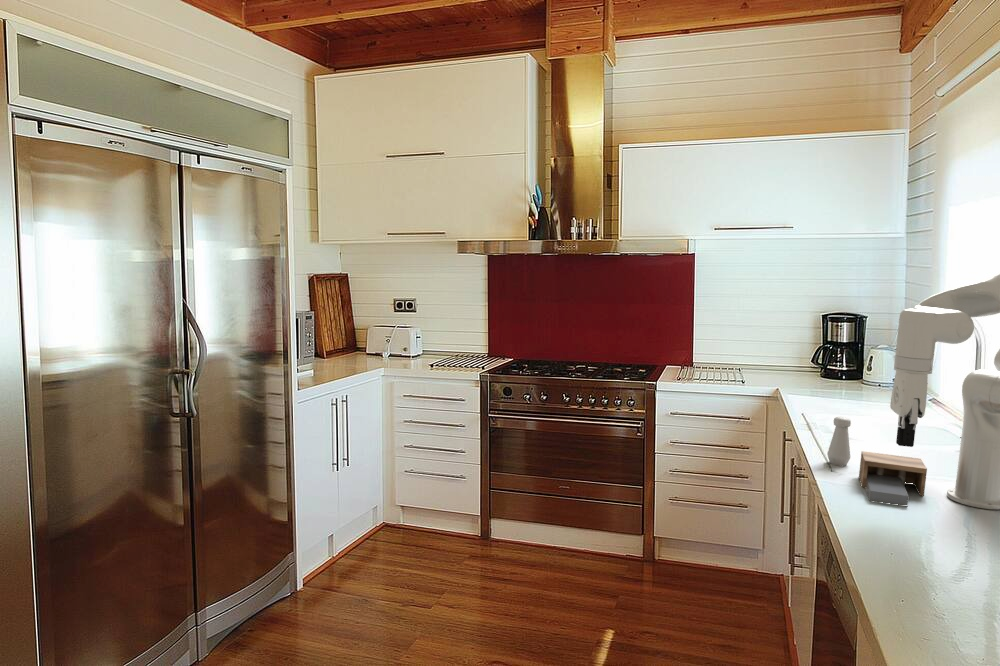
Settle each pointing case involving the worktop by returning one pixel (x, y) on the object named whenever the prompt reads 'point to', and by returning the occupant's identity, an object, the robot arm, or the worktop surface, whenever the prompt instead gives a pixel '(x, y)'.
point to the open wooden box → (893, 468)
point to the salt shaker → (840, 442)
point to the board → (886, 489)
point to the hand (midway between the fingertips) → (904, 445)
